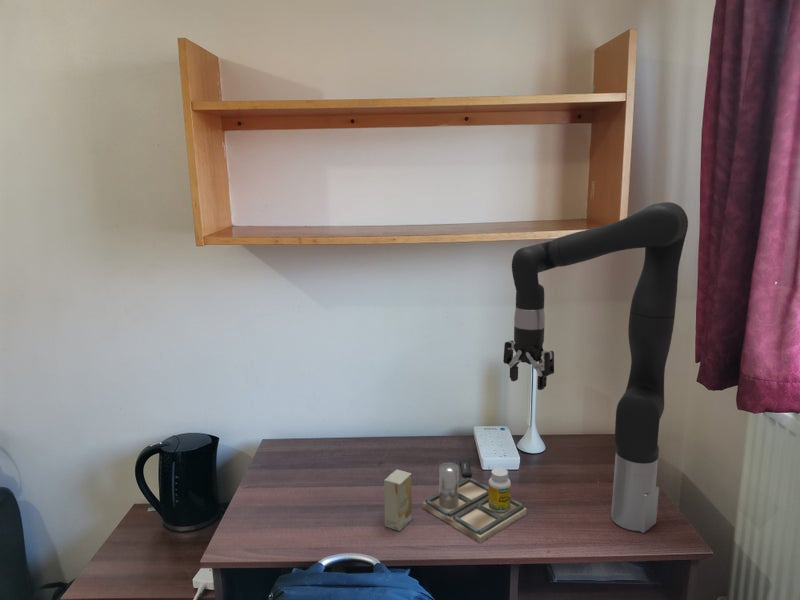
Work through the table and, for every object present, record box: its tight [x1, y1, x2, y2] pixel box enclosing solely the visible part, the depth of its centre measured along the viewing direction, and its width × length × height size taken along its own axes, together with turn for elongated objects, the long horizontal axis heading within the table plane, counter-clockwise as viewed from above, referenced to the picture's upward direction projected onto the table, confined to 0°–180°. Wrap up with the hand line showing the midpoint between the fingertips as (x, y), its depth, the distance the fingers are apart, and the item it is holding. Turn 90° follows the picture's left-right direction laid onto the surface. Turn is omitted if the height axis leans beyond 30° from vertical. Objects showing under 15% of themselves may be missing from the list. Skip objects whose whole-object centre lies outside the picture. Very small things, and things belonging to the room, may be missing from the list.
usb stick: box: [459, 457, 472, 479], centre depth 166 cm, size 10×3×2 cm, turn 179°
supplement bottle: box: [488, 467, 512, 512], centre depth 144 cm, size 5×5×10 cm
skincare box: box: [383, 468, 413, 532], centre depth 141 cm, size 6×4×12 cm
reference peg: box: [438, 462, 460, 509], centre depth 146 cm, size 5×5×10 cm
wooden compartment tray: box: [422, 477, 527, 544], centre depth 146 cm, size 19×17×2 cm
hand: (527, 384), depth 153 cm, fingers open, 8 cm apart
